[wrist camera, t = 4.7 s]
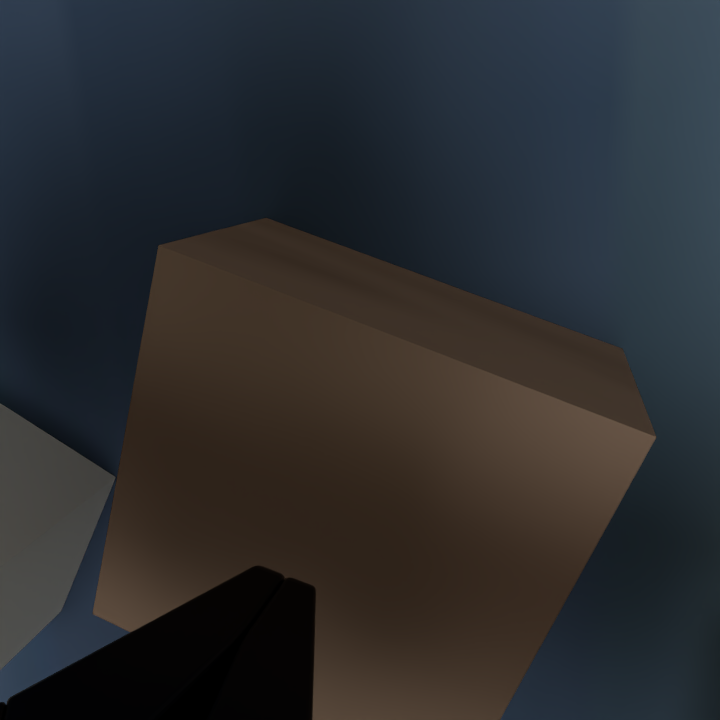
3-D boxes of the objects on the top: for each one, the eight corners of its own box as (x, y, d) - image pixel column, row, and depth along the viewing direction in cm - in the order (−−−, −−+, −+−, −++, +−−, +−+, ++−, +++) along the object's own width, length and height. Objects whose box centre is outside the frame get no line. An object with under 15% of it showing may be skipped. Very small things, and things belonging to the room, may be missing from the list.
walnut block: (481, 626, 14) (459, 793, 11) (201, 501, 15) (92, 613, 12) (621, 345, 12) (656, 437, 8) (271, 216, 13) (159, 245, 9)
